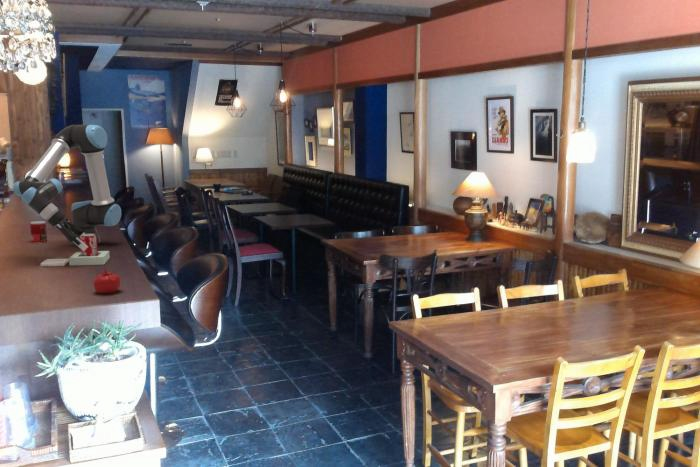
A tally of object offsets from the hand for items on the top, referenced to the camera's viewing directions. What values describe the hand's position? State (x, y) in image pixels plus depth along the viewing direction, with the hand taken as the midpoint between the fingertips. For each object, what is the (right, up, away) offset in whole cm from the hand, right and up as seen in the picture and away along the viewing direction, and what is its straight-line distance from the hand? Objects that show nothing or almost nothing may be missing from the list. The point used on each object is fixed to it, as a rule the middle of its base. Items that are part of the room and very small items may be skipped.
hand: (89, 246), depth 300 cm
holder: (0, -7, +2) cm, 7 cm away
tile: (-15, -8, -3) cm, 17 cm away
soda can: (0, -7, +2) cm, 8 cm away
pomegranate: (+29, -17, -52) cm, 62 cm away
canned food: (-49, +1, +52) cm, 71 cm away
